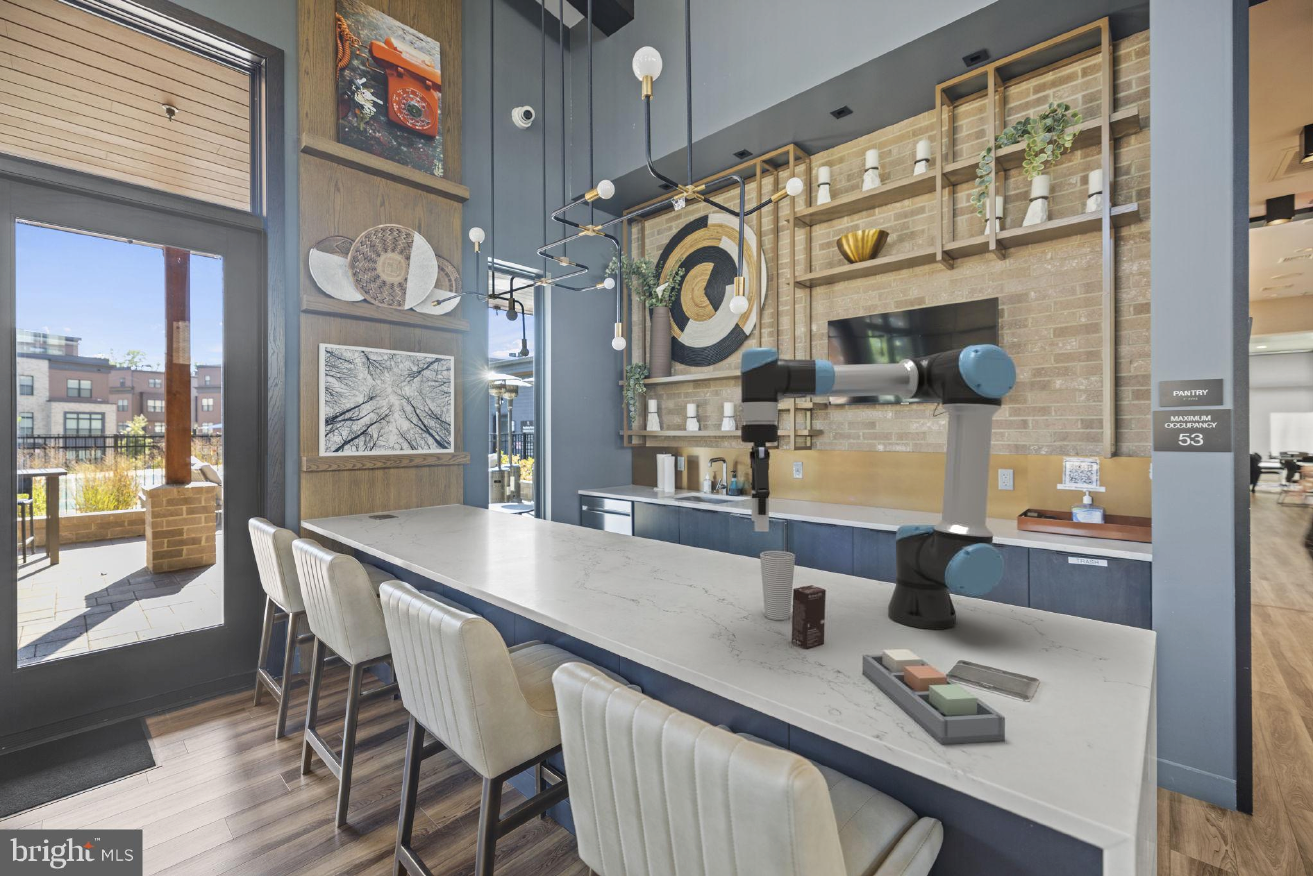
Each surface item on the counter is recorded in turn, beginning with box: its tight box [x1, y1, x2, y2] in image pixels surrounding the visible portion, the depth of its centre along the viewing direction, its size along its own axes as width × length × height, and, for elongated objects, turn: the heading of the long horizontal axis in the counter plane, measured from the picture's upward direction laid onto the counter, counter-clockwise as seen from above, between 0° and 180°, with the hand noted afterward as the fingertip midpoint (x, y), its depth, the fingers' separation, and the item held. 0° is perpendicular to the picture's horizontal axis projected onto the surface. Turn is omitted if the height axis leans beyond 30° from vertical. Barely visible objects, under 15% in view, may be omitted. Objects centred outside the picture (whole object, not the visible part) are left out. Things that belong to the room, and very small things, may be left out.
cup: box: [759, 550, 796, 621], centre depth 143 cm, size 8×8×16 cm
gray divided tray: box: [862, 653, 1006, 745], centre depth 97 cm, size 10×25×4 cm, turn 6°
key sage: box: [929, 683, 978, 716], centre depth 90 cm, size 5×5×2 cm
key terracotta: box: [904, 664, 948, 692], centre depth 97 cm, size 5×5×2 cm
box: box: [791, 584, 827, 650], centre depth 124 cm, size 6×4×12 cm
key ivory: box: [882, 648, 923, 673], centre depth 105 cm, size 5×5×2 cm
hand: (759, 525), depth 120 cm, fingers open, 13 cm apart
